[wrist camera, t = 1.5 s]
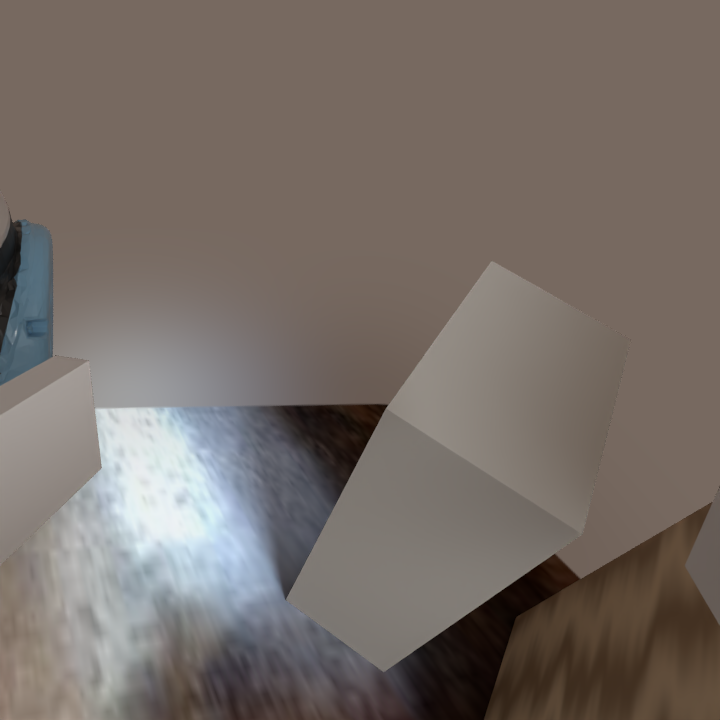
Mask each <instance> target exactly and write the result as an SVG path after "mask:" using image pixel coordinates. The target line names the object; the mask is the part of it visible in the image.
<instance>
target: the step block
mask: <svg viewBox="0 0 720 720" xmlns="http://www.w3.org/2000/svg"><path fill="white" fill-rule="evenodd" d="M630 342H631V339H629V338H627V337H625V336H624V335H622V334H620V333H619V332H617V331H615V330H613V329H612V328H610V327H608V326H606V325H604V324H603V323H601V322H599V321H597V320H596V319H594V318H592V317H590V316H589V315H587V314H585V313H583V312H581V311H580V310H578V309H576V308H574V307H572V306H571V305H569V304H567V303H565V302H564V301H562V300H560V299H558V298H556V297H555V296H553V295H551V294H550V293H548V292H546V291H544V290H542V289H541V288H539V287H537V286H535V285H534V284H532V283H530V282H528V281H526V280H525V279H523V278H521V277H520V276H518V275H516V274H514V273H512V272H511V271H509V270H507V269H505V268H504V267H502V266H500V265H498V264H496V263H495V262H493V261H491V263H490V264H489V265H488V267H487V268H486V270H485V271H484V273H483V274H482V275H481V277H480V278H479V280H478V281H477V282H476V284H475V285H474V286H473V288H472V289H471V291H470V292H469V293H468V295H467V296H466V298H465V299H464V300H463V302H462V303H461V305H460V306H459V307H458V309H457V310H456V312H455V313H454V314H453V316H452V317H451V319H450V320H449V321H448V323H447V324H446V326H445V327H444V328H443V330H442V331H441V332H440V334H439V335H438V337H437V338H436V339H435V341H434V342H433V344H432V345H431V347H430V348H429V349H428V351H427V352H426V353H425V355H424V356H423V358H422V359H421V360H420V362H419V363H418V365H417V366H416V368H415V369H414V370H413V372H412V373H411V374H410V376H409V377H408V379H407V380H406V381H405V383H404V384H403V385H402V387H401V388H400V390H399V391H398V393H397V394H396V395H395V397H394V398H393V399H392V401H391V402H390V404H389V405H388V406H387V408H386V409H385V411H384V413H383V415H382V417H381V419H380V421H379V423H378V425H377V427H376V429H375V430H374V432H373V434H372V436H371V438H370V440H369V442H368V444H367V446H366V448H365V450H364V451H363V453H362V455H361V457H360V459H359V461H358V463H357V465H356V467H355V469H354V471H353V472H352V474H351V476H350V478H349V480H348V482H347V484H346V486H345V488H344V490H343V492H342V493H341V495H340V497H339V499H338V501H337V503H336V505H335V507H334V509H333V511H332V513H331V514H330V516H329V518H328V520H327V522H326V524H325V526H324V528H323V530H322V532H321V534H320V535H319V537H318V539H317V541H316V543H315V545H314V547H313V549H312V551H311V553H310V555H309V556H308V558H307V560H306V562H305V564H304V566H303V568H302V570H301V572H300V574H299V576H298V577H297V579H296V581H295V583H294V585H293V587H292V589H291V591H290V593H289V595H288V597H287V598H286V601H288V602H289V603H290V604H292V605H293V606H295V607H296V608H297V609H299V610H300V611H301V612H303V613H304V614H305V615H307V616H308V617H309V618H311V619H312V620H314V621H315V622H316V623H318V624H319V625H320V626H322V627H323V628H324V629H326V630H327V631H329V632H330V633H331V634H333V635H334V636H335V637H337V638H338V639H339V640H341V641H342V642H343V643H345V644H346V645H348V646H349V647H350V648H352V649H353V650H354V651H356V652H357V653H358V654H360V655H361V656H363V657H364V658H365V659H367V660H368V661H369V662H371V663H372V664H373V665H375V666H376V667H377V668H379V669H380V670H382V671H383V672H385V671H386V670H388V669H389V668H390V667H392V666H393V665H395V664H396V663H398V662H399V661H400V660H402V659H403V658H405V657H406V656H408V655H409V654H411V653H412V652H413V651H415V650H416V649H418V648H419V647H421V646H422V645H424V644H425V643H426V642H428V641H429V640H431V639H432V638H434V637H435V636H437V635H438V634H439V633H441V632H442V631H444V630H445V629H447V628H448V627H450V626H451V625H452V624H454V623H455V622H457V621H458V620H460V619H461V618H462V617H464V616H465V615H467V614H468V613H470V612H471V611H473V610H474V609H475V608H477V607H478V606H480V605H481V604H483V603H484V602H486V601H487V600H488V599H490V598H491V597H493V596H494V595H496V594H497V593H499V592H500V591H501V590H503V589H504V588H506V587H507V586H509V585H510V584H512V583H513V582H514V581H516V580H517V579H519V578H520V577H522V576H523V575H524V574H526V573H527V572H529V571H530V570H532V569H533V568H535V567H536V566H537V565H539V564H540V563H542V562H543V561H545V560H546V559H548V558H549V557H550V556H552V555H553V554H555V553H556V552H558V551H559V550H561V549H562V548H563V547H565V546H566V545H568V544H569V543H571V542H572V541H573V540H575V539H576V538H578V537H579V536H580V535H582V533H583V530H584V526H585V522H586V518H587V514H588V510H589V506H590V502H591V498H592V494H593V490H594V486H595V482H596V478H597V474H598V470H599V466H600V462H601V458H602V454H603V450H604V446H605V442H606V438H607V434H608V430H609V426H610V421H611V418H612V414H613V409H614V406H615V402H616V398H617V394H618V389H619V386H620V382H621V378H622V374H623V370H624V366H625V362H626V358H627V354H628V350H629V346H630Z"/></svg>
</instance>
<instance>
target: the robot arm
mask: <svg viewBox="0 0 720 720" xmlns="http://www.w3.org/2000/svg"><path fill="white" fill-rule="evenodd" d="M52 248H53V247H52V239H51V234H50V231H49V230H48V229H47V228H46V227H44V226H43V225H39V224H34V223H30V222H29V221H27V220H17V221H16V222H14V223H12V219H11V216H10V212H9V209H8V205H7V202H6V201H5V198H4V196H3V193H2V192H1V190H0V565H1V564H2V563H3V562H5V561H6V560H7V559H8V558H9V557H10V556H11V555H12V554H13V553H14V552H15V551H16V550H17V549H18V548H19V547H20V546H21V545H22V544H23V543H24V542H25V541H26V540H27V539H28V538H29V537H31V536H32V535H33V534H34V533H35V532H36V531H37V530H38V529H39V528H40V527H41V526H42V525H43V524H44V523H45V522H46V521H47V520H48V519H49V518H50V517H51V516H52V515H53V514H54V513H55V512H57V511H58V510H59V509H60V508H61V507H62V506H63V505H64V504H65V503H66V502H67V501H68V500H69V499H70V498H71V497H72V496H73V495H74V494H75V493H76V492H77V491H78V490H79V489H80V488H81V487H82V486H84V485H85V484H86V483H87V482H88V481H89V480H90V479H91V478H92V477H93V476H94V475H95V474H96V473H97V472H98V471H99V470H100V469H101V468H102V467H101V459H100V450H99V442H98V433H97V425H96V416H95V407H94V399H93V391H92V382H91V373H90V365H89V360H83V359H76V358H69V357H62V356H56V355H55V356H54V357H53V356H52V354H53V250H52ZM685 567H686V569H687V571H688V572H689V574H690V576H691V578H692V579H693V581H694V583H695V584H696V586H697V588H698V589H699V591H700V593H701V595H702V596H703V598H704V600H705V601H706V603H707V605H708V607H709V608H710V610H711V612H712V613H713V615H714V617H715V618H716V620H717V622H718V624H719V625H720V487H719V489H718V491H717V494H716V496H715V498H714V500H713V503H712V505H711V507H710V509H709V512H708V514H707V516H706V518H705V521H704V523H703V525H702V527H701V530H700V532H699V534H698V537H697V539H696V541H695V543H694V546H693V548H692V550H691V552H690V555H689V557H688V559H687V561H686V564H685Z"/></svg>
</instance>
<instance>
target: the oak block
mask: <svg viewBox="0 0 720 720" xmlns="http://www.w3.org/2000/svg"><path fill="white" fill-rule="evenodd" d="M712 503H713V502H711V503H710V504H708V505H706V506H705V507H703V508H701V509H699V510H698V511H696V512H694V513H693V514H691V515H689V516H687V517H686V518H684V519H682V520H681V521H679V522H678V523H676V524H674V525H672V526H671V527H669V528H667V529H666V530H664V531H662V532H660V533H659V534H657V535H655V536H653V537H652V538H650V539H648V540H647V541H645V542H643V543H641V544H640V545H638V546H636V547H635V548H633V549H631V550H630V551H628V552H626V553H625V554H623V555H621V556H620V557H618V558H616V559H614V560H613V561H611V562H609V563H607V564H606V565H604V566H602V567H601V568H599V569H597V570H596V571H594V572H593V573H590V574H589V575H587V576H585V577H584V578H582V579H580V580H578V581H577V582H575V583H573V584H572V585H570V586H568V587H567V588H565V589H563V590H561V591H560V592H558V593H556V594H555V595H553V596H551V597H549V598H548V599H546V600H544V601H543V602H541V603H539V604H538V605H536V606H534V607H532V608H531V609H529V610H527V611H526V612H524V613H522V614H521V615H519V616H517V617H516V619H515V622H514V625H513V629H512V632H511V635H510V638H509V641H508V644H507V648H506V651H505V654H504V657H503V660H502V663H501V667H500V670H499V673H498V676H497V679H496V682H495V686H494V689H493V692H492V695H491V698H490V701H489V705H488V708H487V711H486V714H485V717H484V720H720V625H719V624H718V622H717V620H716V618H715V617H714V615H713V613H712V612H711V610H710V608H709V607H708V605H707V603H706V601H705V600H704V598H703V596H702V595H701V593H700V591H699V589H698V588H697V586H696V584H695V583H694V581H693V579H692V578H691V576H690V574H689V572H688V571H687V569H686V567H685V564H686V561H687V559H688V557H689V555H690V552H691V550H692V548H693V546H694V543H695V541H696V539H697V537H698V534H699V532H700V530H701V527H702V525H703V523H704V521H705V518H706V516H707V514H708V512H709V509H710V507H711V505H712Z"/></svg>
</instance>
